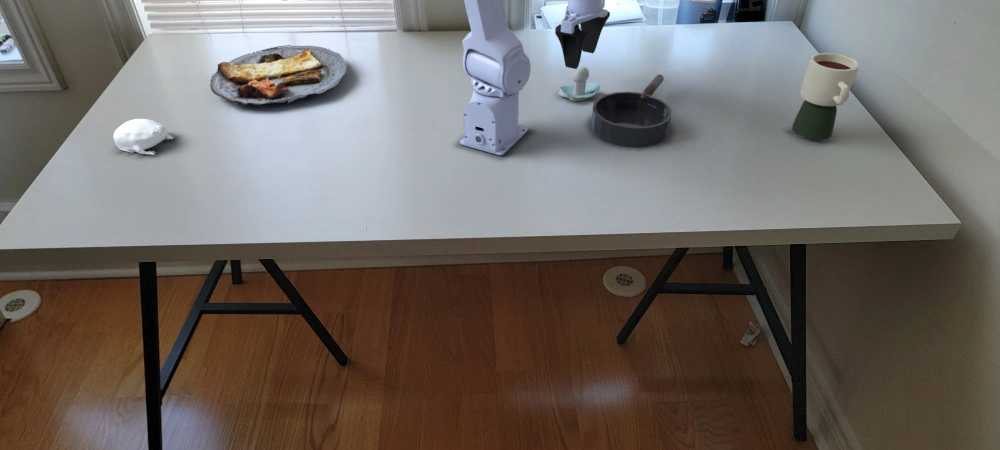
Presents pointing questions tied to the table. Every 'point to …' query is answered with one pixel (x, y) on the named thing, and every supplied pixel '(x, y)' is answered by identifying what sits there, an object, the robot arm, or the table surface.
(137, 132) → the white frog figurine
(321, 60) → the food plate
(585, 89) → the pacifier
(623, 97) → the pan
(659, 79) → the pan handle
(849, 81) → the character mug
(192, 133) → the table surface
